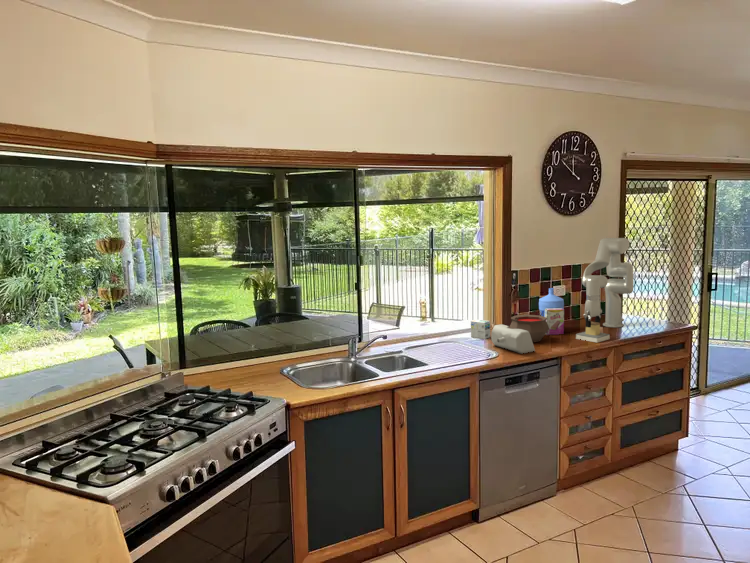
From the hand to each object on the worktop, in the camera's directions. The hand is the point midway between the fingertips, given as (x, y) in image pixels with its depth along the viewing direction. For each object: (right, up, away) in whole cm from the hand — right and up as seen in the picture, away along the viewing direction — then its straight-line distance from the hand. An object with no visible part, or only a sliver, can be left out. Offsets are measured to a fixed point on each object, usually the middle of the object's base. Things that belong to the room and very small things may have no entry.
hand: (593, 325), depth 320 cm
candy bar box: (-18, -7, +17) cm, 25 cm away
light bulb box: (-65, -9, +16) cm, 67 cm away
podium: (0, -8, +1) cm, 8 cm away
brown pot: (-37, -9, +5) cm, 39 cm away
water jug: (-16, -6, +27) cm, 32 cm away
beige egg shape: (+7, -7, +9) cm, 14 cm away
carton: (0, -5, 0) cm, 5 cm away
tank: (-54, -13, -16) cm, 58 cm away
